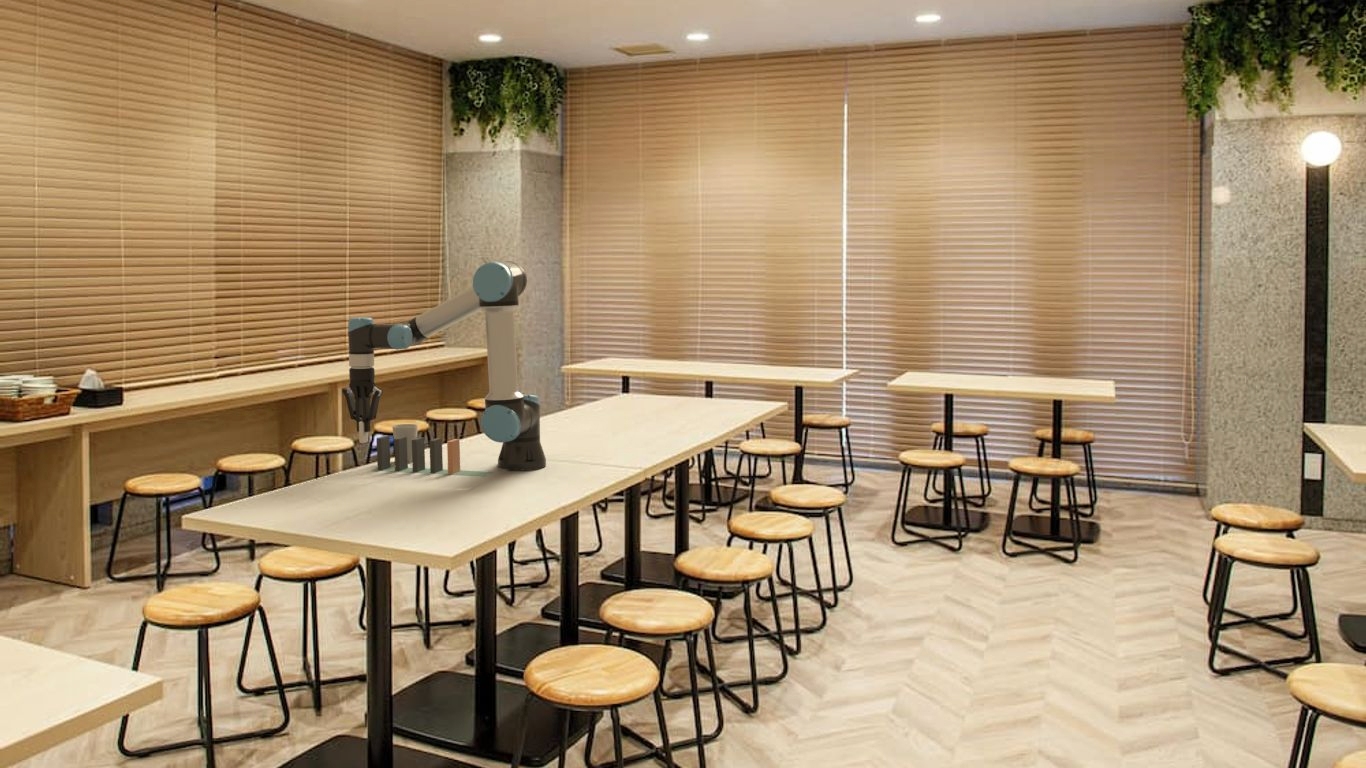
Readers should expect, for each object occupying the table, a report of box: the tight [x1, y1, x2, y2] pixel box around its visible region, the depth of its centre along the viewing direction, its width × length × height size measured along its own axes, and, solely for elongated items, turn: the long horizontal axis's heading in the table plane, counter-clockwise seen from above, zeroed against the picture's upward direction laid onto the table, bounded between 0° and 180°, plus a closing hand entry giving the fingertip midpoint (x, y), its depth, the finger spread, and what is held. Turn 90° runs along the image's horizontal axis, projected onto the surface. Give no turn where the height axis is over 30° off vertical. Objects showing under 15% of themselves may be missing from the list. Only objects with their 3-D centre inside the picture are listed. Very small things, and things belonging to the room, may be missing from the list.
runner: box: [370, 466, 494, 478], centre depth 332 cm, size 38×7×1 cm, turn 76°
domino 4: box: [429, 437, 444, 473], centre depth 332 cm, size 2×5×10 cm, turn 165°
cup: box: [392, 423, 419, 464], centre depth 348 cm, size 8×8×12 cm
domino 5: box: [446, 438, 461, 474], centre depth 330 cm, size 2×5×10 cm, turn 165°
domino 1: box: [376, 435, 392, 470], centre depth 336 cm, size 2×5×10 cm, turn 165°
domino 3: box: [411, 436, 426, 472], centre depth 333 cm, size 2×5×10 cm, turn 166°
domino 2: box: [393, 437, 409, 471], centre depth 334 cm, size 2×5×10 cm, turn 165°
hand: (363, 442), depth 337 cm, fingers closed
